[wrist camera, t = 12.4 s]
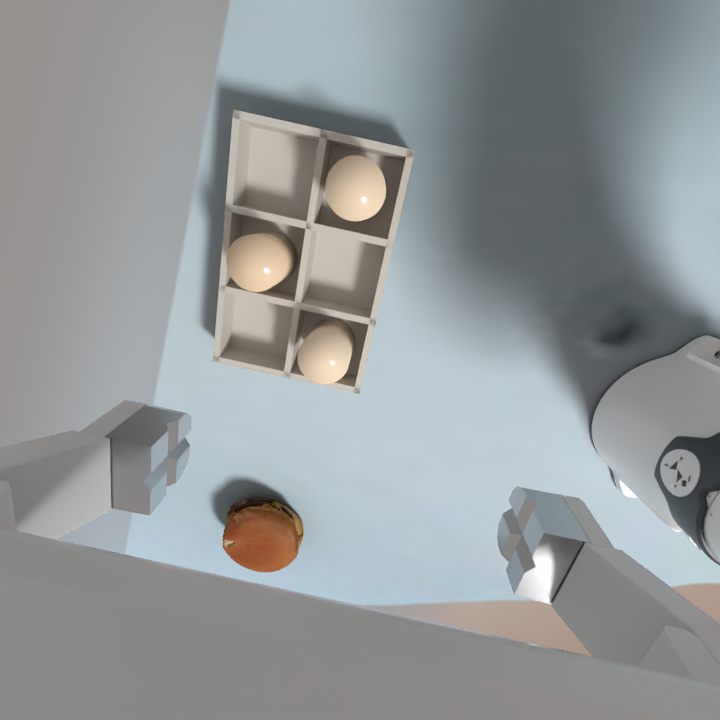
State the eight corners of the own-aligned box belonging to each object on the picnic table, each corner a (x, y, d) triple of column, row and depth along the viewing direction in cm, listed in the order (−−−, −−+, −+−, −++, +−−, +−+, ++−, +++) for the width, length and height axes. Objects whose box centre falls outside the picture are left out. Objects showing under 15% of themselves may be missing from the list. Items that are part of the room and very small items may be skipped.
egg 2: (359, 323, 40) (353, 341, 35) (350, 365, 42) (343, 389, 36) (314, 313, 40) (301, 330, 35) (307, 355, 42) (293, 378, 36)
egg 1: (301, 236, 38) (284, 241, 32) (294, 284, 39) (277, 297, 34) (253, 226, 38) (228, 229, 32) (248, 274, 39) (224, 285, 34)
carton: (413, 155, 35) (415, 150, 32) (361, 379, 43) (359, 393, 40) (248, 119, 35) (233, 109, 32) (226, 349, 43) (212, 361, 40)
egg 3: (391, 170, 35) (391, 162, 30) (380, 224, 37) (378, 226, 31) (340, 159, 35) (330, 149, 30) (331, 214, 37) (320, 214, 31)
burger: (312, 548, 52) (305, 578, 47) (245, 555, 53) (232, 585, 49) (292, 485, 49) (282, 512, 44) (221, 494, 50) (205, 521, 46)
